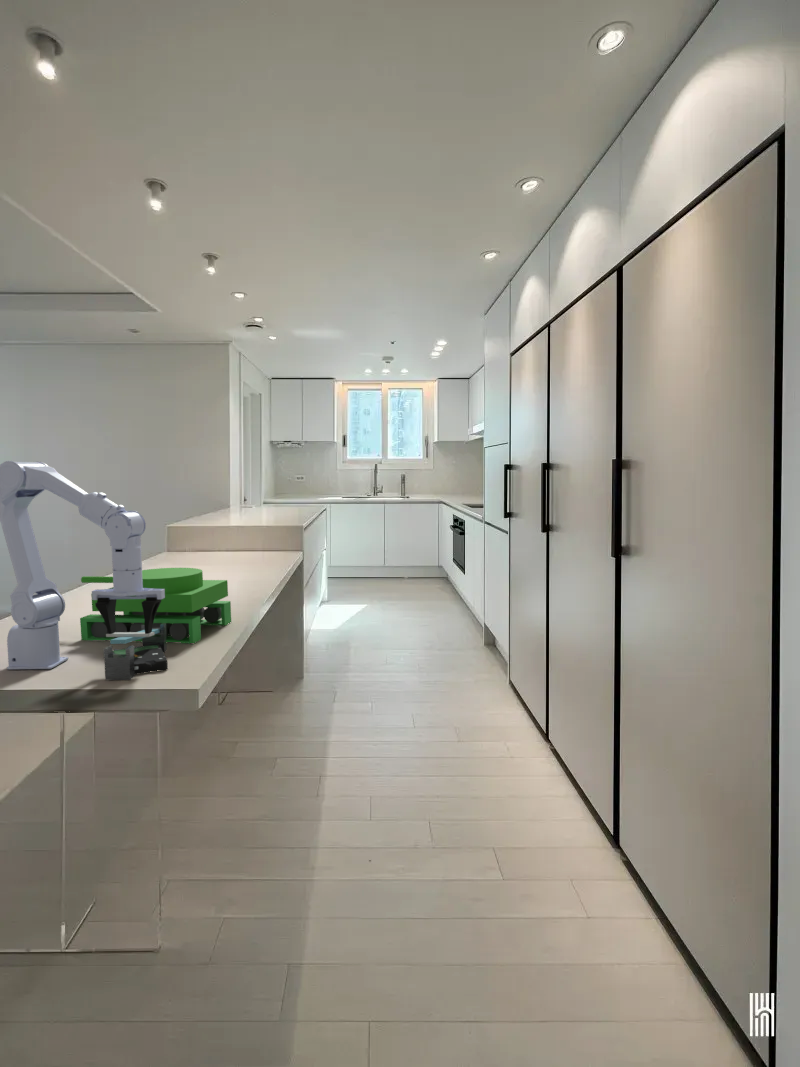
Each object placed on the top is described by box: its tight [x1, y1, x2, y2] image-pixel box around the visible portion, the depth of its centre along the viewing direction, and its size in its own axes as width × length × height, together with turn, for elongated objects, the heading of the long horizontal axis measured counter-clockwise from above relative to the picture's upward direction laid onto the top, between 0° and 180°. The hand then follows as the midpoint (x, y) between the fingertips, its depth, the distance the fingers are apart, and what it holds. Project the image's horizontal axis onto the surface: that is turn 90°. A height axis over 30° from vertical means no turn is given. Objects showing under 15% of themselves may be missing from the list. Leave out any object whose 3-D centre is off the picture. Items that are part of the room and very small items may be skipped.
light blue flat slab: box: [106, 628, 161, 645], centre depth 144 cm, size 9×21×2 cm, turn 1°
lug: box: [103, 645, 136, 681], centre depth 135 cm, size 5×2×6 cm, turn 91°
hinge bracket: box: [141, 623, 168, 653], centre depth 154 cm, size 5×2×7 cm, turn 91°
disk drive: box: [113, 644, 169, 675], centre depth 145 cm, size 10×3×15 cm
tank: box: [79, 567, 232, 644], centre depth 175 cm, size 24×35×16 cm
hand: (130, 633), depth 140 cm, fingers open, 7 cm apart
